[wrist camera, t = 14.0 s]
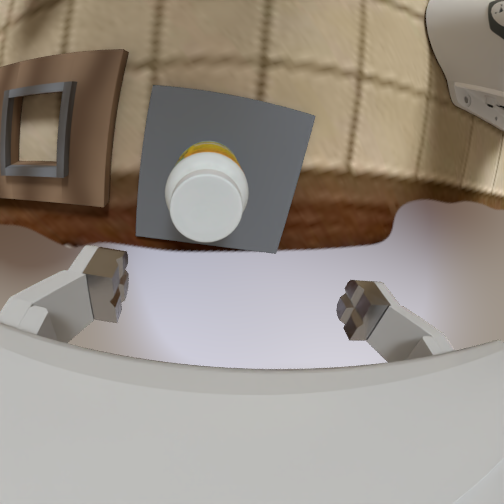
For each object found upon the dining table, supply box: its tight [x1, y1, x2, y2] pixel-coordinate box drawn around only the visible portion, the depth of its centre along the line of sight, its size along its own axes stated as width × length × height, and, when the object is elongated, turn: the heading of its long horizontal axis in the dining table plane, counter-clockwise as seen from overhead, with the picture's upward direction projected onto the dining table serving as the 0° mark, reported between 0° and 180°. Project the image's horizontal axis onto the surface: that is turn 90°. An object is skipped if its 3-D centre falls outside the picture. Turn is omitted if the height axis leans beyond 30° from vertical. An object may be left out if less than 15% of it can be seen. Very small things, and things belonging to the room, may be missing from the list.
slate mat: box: [136, 85, 315, 254], centre depth 23 cm, size 14×14×1 cm
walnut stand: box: [0, 49, 129, 207], centre depth 17 cm, size 16×14×2 cm
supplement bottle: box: [165, 141, 249, 242], centre depth 19 cm, size 5×5×10 cm
